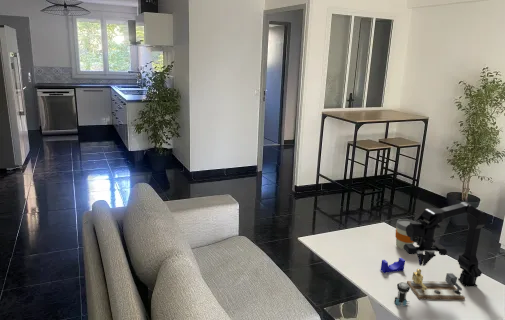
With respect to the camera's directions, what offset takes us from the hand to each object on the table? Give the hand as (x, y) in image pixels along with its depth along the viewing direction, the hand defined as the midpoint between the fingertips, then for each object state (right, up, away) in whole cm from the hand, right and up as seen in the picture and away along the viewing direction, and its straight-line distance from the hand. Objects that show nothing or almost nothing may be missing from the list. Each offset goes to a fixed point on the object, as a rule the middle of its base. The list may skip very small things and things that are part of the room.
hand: (422, 265), depth 185 cm
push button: (-14, -15, -11) cm, 23 cm away
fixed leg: (+16, -11, +1) cm, 19 cm away
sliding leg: (-1, -10, -1) cm, 10 cm away
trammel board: (+7, -13, +1) cm, 14 cm away
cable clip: (-8, -7, +18) cm, 21 cm away
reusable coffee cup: (+9, -1, +45) cm, 46 cm away
